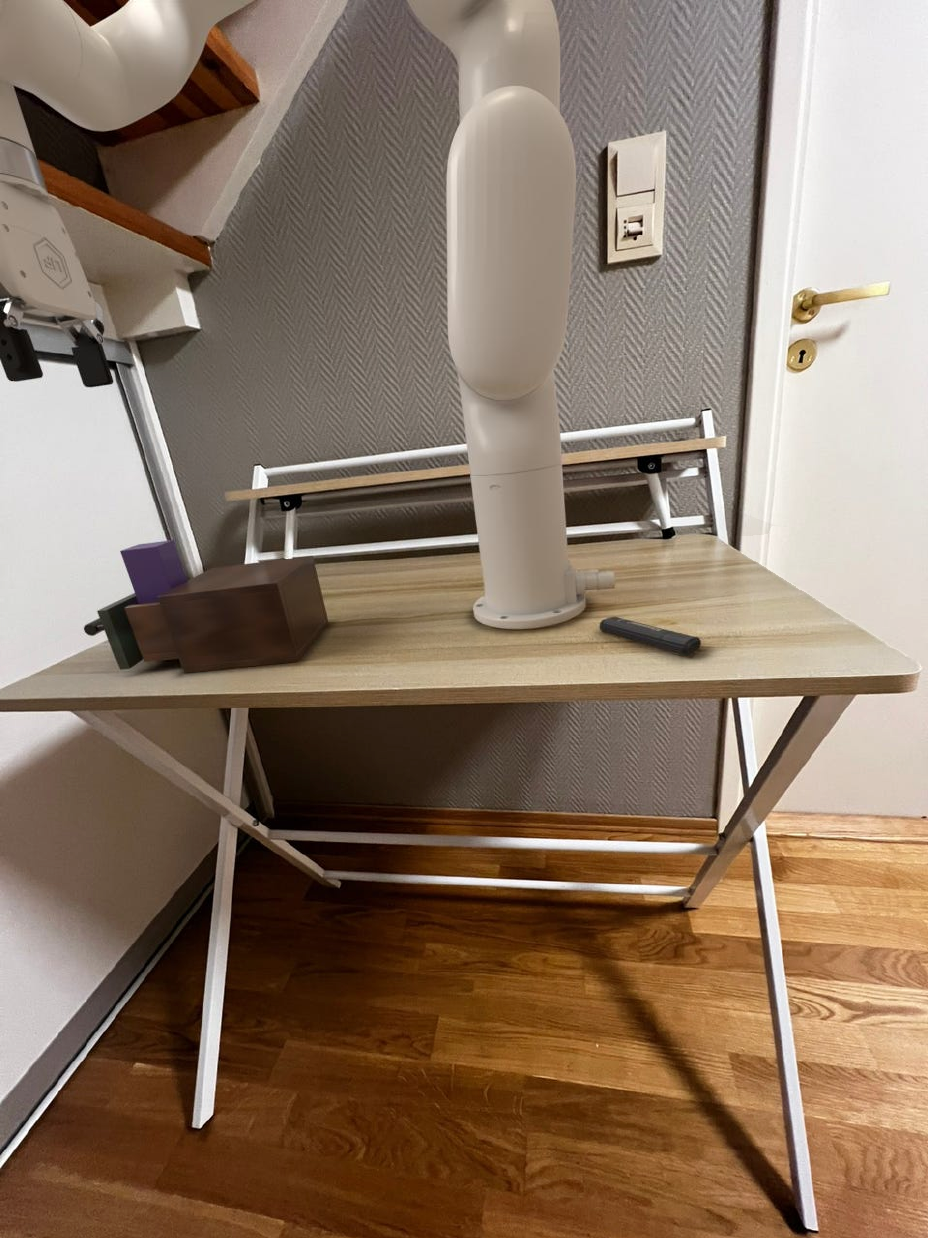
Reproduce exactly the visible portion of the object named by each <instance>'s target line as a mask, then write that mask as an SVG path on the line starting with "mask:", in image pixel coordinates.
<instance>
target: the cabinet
mask: <svg viewBox="0 0 928 1238" xmlns="http://www.w3.org/2000/svg"><path fill="white" fill-rule="evenodd" d="M314 558H315V557H314V555H309V556H308V555H307V556H301V557H300V556H299V557H291V558H283V559H276V560H267V561H260V562H259V561H257V562H250V563H249V562H248V563H242V564H235V565H233V564H232V565H226V566H215V567H211V568H209V569H207V570H206V571H204V572H201V573H199V574H198V575H196V576H194V577H192V578H190V579H189V580H187V581H186V582H184V583H183V584H181V585H179V586H177V587H175V588H173V589H171V590H169V591H167V592H165V593H163V594H162V595H160V596H158V600H159V603H160V606H161V609H162V612H163V615H164V617H165V620H166V623H167V626H168V629H169V632H170V635H171V638H172V641H173V644H174V646H175V649H176V652H177V655H178V658H179V659H178V660H179V663H180V664H179V665H180V667H181V669H182V672H183V674H190V673H201V672H209V671H219V670H228V669H239V668H249V667H259V666H268V665H278V664H287V663H298V662H299V661H300V659H302V657H303V656H304V655H305V654H306V653H307V651H308V650H309V649H310V647H311V646H312V645H313V643H314V642H315V641H316V640H317V639H318V638H319V636H320V635H321V634H322V633H323V631H324V630H325V629H326V628H327V626H328V625H329V624H330V622H329V618H328V613H327V610H326V606H325V601H324V597H323V591H322V589H321V584H320V579H319V575H318V570H317V567H316V563H315V559H314Z"/></svg>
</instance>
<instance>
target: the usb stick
mask: <svg viewBox="0 0 928 1238" xmlns="http://www.w3.org/2000/svg"><path fill="white" fill-rule="evenodd" d="M599 630H600V631H601V633H603V634H607V635H610V636H614V637H617V638H621V639H623V640H626V641H631V642H634V643H637V644H641V645H644V646H647V647H650V648H655V649H658V650H660V651H664V652H669V653H671V654H675V655H678V656H682V657H691V656H693V655H694V654H695V653H696V652H698V651H699V649H700V648H701V643H702V641H701V639H700V637H699V636H694V635H689V634H685V633H682V632H677V631H673V630H669V629H666V628H661V627H657V626H653V625H650V624H646V623H642V622H637V621H634V620H630V619H626V618H622V617H618V616H610V617H607V618H604V619H602V620H601V621H600V623H599Z"/></svg>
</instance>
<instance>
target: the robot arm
mask: <svg viewBox="0 0 928 1238" xmlns="http://www.w3.org/2000/svg"><path fill="white" fill-rule="evenodd" d="M253 2H255V0H128V1H127V2H126V3H125V4H124V6H122V7H121V8H120V9H118V10H117V11H116V12H114V13H113V14H111V15H109V16H107V17H106V18H104V19H102V20H100V21H99V22H97V23H95V24H94V25H91V26H90V25H89V24H88V23H87V22H86V21H85V20H84V19H83V18H82V17H80V15H79V14H78V13H77V12H75V10H74V9H73V8H71V7H70V5H69V4H67V2H66V1H64V0H0V363H1V366H2V369H3V372H4V373H5V374H4V375H5V376H6V378H7V380H8V381H10V382H13V383H14V382H23V381H31V380H37V379H42V378H43V376H44V372H43V370H42V366H41V364H40V361H39V358H38V355H37V353H36V350H35V347H34V345H33V342H32V339H31V335H30V333H29V331H28V329H24V328H20V326H21V323H22V320H26V321H30V322H36V323H39V324H44V325H45V324H46V325H50V326H59V327H60V329H61V330H62V331H63V332H64V334H65V335H66V336H67V338H68V339H69V340H70V341H71V342H72V343H73V344H74V346H73V347H70V349H71V352H72V356H73V358H74V361H75V364H76V367H77V370H78V373H79V376H80V379H81V382H82V385H83V386H84V387H85V388H96V387H102V386H109V385H113V384H114V378H113V375H112V371H111V369H110V366H109V363H108V359H107V356H106V353H105V350H104V347H103V345H105V338H104V336H103V335H104V333H105V325H104V310H103V307H102V305H100V303H98V302H97V301H96V300H95V299H94V295H93V293H92V291H91V287H90V285H89V282H88V279H87V277H86V274H85V272H84V269H83V267H82V264H81V261H80V258H79V256H78V254H77V251H76V248H75V246H74V244H73V242H72V239H71V236H70V234H69V231H68V230H67V229H66V226H65V224H64V222H63V220H62V218H61V216H60V214H59V212H58V210H57V209H56V208H55V207H54V206H52V205H51V203H52V201H51V198H50V196H49V192H48V189H47V186H46V183H45V179H44V177H43V172H42V170H41V167H40V164H39V161H38V159H37V155H36V152H35V149H34V146H33V143H32V139H31V137H30V133H29V130H28V127H27V124H26V121H25V118H24V114H23V112H22V108H21V105H20V102H19V100H18V99H19V98H18V96H17V93H16V90H15V87H16V88H19V89H21V90H24V91H26V92H28V93H31V94H33V95H34V96H36V97H37V98H39V99H40V100H41V101H43V102H44V103H45V104H46V105H48V106H50V107H51V108H52V109H54V110H55V111H56V112H58V113H59V114H61V116H63V117H65V118H66V119H67V120H69V121H70V122H72V123H74V124H76V125H77V126H79V127H81V128H84V129H86V130H90V131H93V132H108V131H109V132H110V131H114V130H119V129H121V128H125V127H127V126H129V125H131V124H133V123H135V122H137V121H139V120H141V119H143V118H145V117H146V116H149V115H150V114H152V113H154V112H155V111H157V110H159V109H161V108H162V107H164V106H165V105H167V104H168V103H170V102H171V100H174V98H175V97H176V96H177V95H178V94H179V93H180V91H181V90H182V89H183V87H184V86H185V84H186V83H187V81H188V79H189V78H190V76H191V74H192V72H193V71H194V69H195V67H196V66H197V64H198V62H199V60H200V58H201V56H202V53H203V51H204V48H205V45H206V42H207V39H208V36H209V34H210V31H211V30H212V29H213V27H214V26H215V25H217V24H218V23H219V22H221V21H222V20H224V19H225V18H227V17H228V16H230V15H232V14H234V13H236V12H238V11H239V10H241V9H243V8H245V6H248V5H249V4H251V3H253ZM406 2H407V5H408V6H409V8H410V9H411V12H412V13H413V14H414V16H416V18H417V20H419V22H420V23H421V24H422V25H423V26H424V28H425V29H427V30H428V31H429V33H431V34H432V35H433V36H434V37H435V38H437V39H438V41H440V42H442V43H443V44H444V45H445V46H446V47H447V48H448V49H449V50H450V52H451V54H452V55H453V56H454V58H455V60H456V62H457V68H458V109H459V110H458V111H459V124H458V127H457V129H456V131H455V133H454V136H453V139H452V141H451V145H450V148H449V152H448V158H447V166H446V182H445V183H446V188H445V189H446V191H445V194H446V195H445V198H446V199H445V200H446V206H445V207H446V273H447V274H446V279H447V280H446V285H447V286H446V288H447V290H446V291H447V292H446V293H447V295H446V296H447V297H446V298H447V300H446V301H447V302H446V303H447V310H446V311H447V339H448V347H449V351H450V355H451V358H452V361H453V364H454V366H455V368H456V373H457V380H458V385H459V391H460V392H459V393H460V400H461V409H462V416H463V417H462V418H463V425H464V433H465V443H466V450H467V459H468V468H469V477H470V485H471V493H472V501H473V509H474V516H475V517H474V519H475V525H476V533H477V540H478V549H479V557H480V564H481V565H480V566H481V573H482V580H483V590H484V595H483V596H481V597H479V598H478V599H477V600H476V601H475V602H474V604H473V606H472V610H473V617H474V619H475V620H476V621H477V622H479V623H481V624H482V625H485V626H488V627H491V628H497V629H504V630H528V629H529V630H530V629H531V630H532V629H539V628H544V627H551V626H555V625H558V624H561V623H565V622H566V621H570V620H572V619H574V618H576V617H577V616H579V615H580V614H581V613H582V612H584V610H585V609H586V606H587V603H586V602H587V600H586V591H592V590H597V591H603V590H611V589H615V588H616V577H615V573H614V570H606V571H599V569H598V568H591V569H590V568H589V569H585V570H577V569H576V568H574V567H573V565H572V563H571V562H570V560H569V550H568V547H569V546H568V535H567V519H566V506H565V505H566V504H565V492H564V491H565V490H564V476H563V452H562V439H561V428H560V426H561V425H560V418H559V417H560V415H559V407H558V400H557V399H558V398H557V392H556V391H557V389H556V381H555V380H556V379H555V368H556V366H557V364H558V363H559V360H560V358H561V356H562V353H563V349H564V345H565V340H566V335H567V328H568V327H567V326H568V317H569V305H570V290H571V275H572V259H573V245H574V244H573V243H574V227H575V226H574V225H575V211H576V210H575V209H576V194H577V193H576V192H577V191H576V190H577V189H576V188H577V171H576V170H577V168H576V164H577V163H576V155H575V148H574V143H573V140H572V136H571V133H570V129H569V127H568V125H567V123H566V121H565V119H564V117H563V115H562V114H561V113H560V112H561V108H560V107H561V104H560V103H561V37H560V36H561V35H560V28H559V23H558V16H557V13H556V9H555V5H554V3H553V0H406ZM79 325H80V326H81V327H80V329H79V330H78V329H76V327H75V326H79ZM19 328H20V329H19Z"/></svg>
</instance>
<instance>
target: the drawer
mask: <svg viewBox="0 0 928 1238" xmlns="http://www.w3.org/2000/svg"><path fill="white" fill-rule="evenodd" d="M96 612H97V615H98V618H96V619H94V620H92V621H90V622H89V623H86V624H85V625H84V627H83V631H84V633H85V634H86V635H87V636H90V637H93V636H94V637H95V636H96V635H98V634H100V633H102V632H104V633H105V636H106V639H107V641H108V642H109V645H110V649H111V651H112V654H113V657H114V658H115V662H116V663H117V666H118V669H119V670H120V671H121V670H122V671H123V670H130V669H132V668H134V666H136V665H138V664H139V663H140V662H142V661H144V663H151V662H159V661H161V662H162V661H168V660H169V661H170V660H177V659H178V660H179V658H178V655H177V652H176V649H175V646H174V644H173V641H172V638H171V635H170V632H169V629H168V626H167V623H166V620H165V617H164V615H163V612H162V609H161V606H160V603H159V602H155V603H146V604H139V603H138V600H137V597H136V594H135V592H133V593H131V594H129V595H127V596H125V597H122V598H120V599H119V600H116V601H115V602H113V603H111V604H109V605H106V606H104V607H102V608H100V609H98V610H96Z"/></svg>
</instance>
